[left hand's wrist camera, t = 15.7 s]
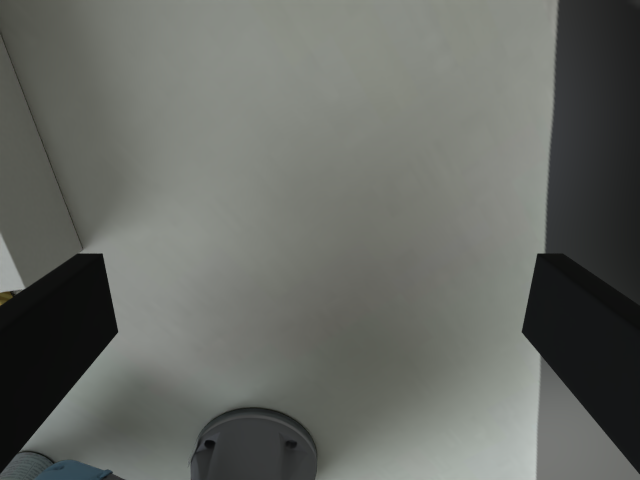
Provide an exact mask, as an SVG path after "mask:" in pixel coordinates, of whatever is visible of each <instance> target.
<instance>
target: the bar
mask: <svg viewBox="0 0 640 480" xmlns="http://www.w3.org/2000/svg"><path fill="white" fill-rule="evenodd" d="M82 250H83V249H82V246H81V244H80V241H79V238H78V236H77V233H76V230H75V228H74V225H73V223H72V220H71V217H70V215H69V212H68V210H67V207H66V204H65V202H64V199H63V196H62V194H61V191H60V189H59V186H58V183H57V181H56V178H55V176H54V173H53V170H52V168H51V165H50V162H49V160H48V157H47V155H46V152H45V149H44V147H43V144H42V141H41V139H40V136H39V134H38V131H37V128H36V126H35V123H34V121H33V118H32V115H31V113H30V110H29V107H28V105H27V102H26V100H25V97H24V94H23V92H22V89H21V87H20V84H19V81H18V79H17V76H16V73H15V71H14V68H13V66H12V63H11V60H10V58H9V55H8V53H7V50H6V47H5V45H4V42H3V39H2V37H1V34H0V292H7V291H14V290H21V289H26V288H27V287H29V286H30V285H32V284H33V283H35V282H36V281H37V280H39V279H40V278H42V277H43V276H45V275H46V274H48V273H49V272H51V271H52V270H54V269H55V268H57V267H58V266H60V265H61V264H63V263H64V262H66V261H67V260H68V259H70V258H71V257H73V256H74V255H76V254H78V253H79V252H81V251H82Z"/></svg>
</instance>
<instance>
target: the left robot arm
mask: <svg viewBox="0 0 640 480" xmlns="http://www.w3.org/2000/svg"><path fill="white" fill-rule="evenodd" d="M117 333H118V328H117V323H116V318H115V313H114V308H113V303H112V298H111V293H110V288H109V283H108V278H107V273H106V268H105V263H104V258H103V254H76V255H74V256H73V257H71V258H70V259H68V260H67V261H66V262H64V263H63V264H61V265H60V266H58V267H57V268H55V269H54V270H52V271H51V272H49V273H48V274H46V275H45V276H43V277H42V278H40V279H39V280H37V281H36V282H35V283H33V284H32V285H30V286H29V287H27V288H26V289H24V290H23V291H21V292H20V293H18V294H17V295H15V296H14V297H12V298H11V299H9V300H8V301H6V302H5V303H4V304H2V305H1V306H0V474H1V473H2V472H3V470H4V469H5V468H6V467H7V466H8V464H9V463H10V462H11V461H12V459H13V458H14V457H15V456H16V455H17V453H18V452H19V451H20V450H21V449H22V447H23V446H24V445H25V444H26V443H27V441H28V440H29V439H30V438H31V437H32V435H33V434H34V433H35V432H36V431H37V429H38V428H39V427H40V426H41V425H42V423H43V422H44V421H45V420H46V419H47V417H48V416H49V415H50V414H51V413H52V411H53V410H54V409H55V408H56V406H57V405H58V404H59V403H60V402H61V400H62V399H63V398H64V397H65V396H66V394H67V393H68V392H69V391H70V390H71V388H72V387H73V386H74V385H75V384H76V382H77V381H78V380H79V379H80V378H81V376H82V375H83V374H84V373H85V372H86V370H87V369H88V368H89V367H90V366H91V364H92V363H93V362H94V361H95V360H96V358H97V357H98V356H99V355H100V353H101V352H102V351H103V350H104V349H105V347H106V346H107V345H108V344H109V343H110V341H111V340H112V339H113V338H114V337H115V335H116V334H117ZM522 333H523V334H524V335H525V337H526V338H527V339H528V340H529V341H530V343H531V344H532V345H533V346H534V347H535V349H536V350H537V351H538V352H539V353H540V355H541V356H542V357H543V358H544V360H545V361H546V362H547V363H548V364H549V365H550V367H551V368H552V369H553V370H554V372H555V373H556V374H557V375H558V376H559V378H560V379H561V380H562V381H563V382H564V384H565V385H566V386H567V387H568V388H569V390H570V391H571V392H572V393H573V394H574V396H575V397H576V398H577V399H578V400H579V402H580V403H581V404H582V405H583V406H584V408H585V409H586V410H587V411H588V413H589V414H590V415H591V416H592V417H593V419H594V420H595V421H596V422H597V423H598V425H599V426H600V427H601V428H602V429H603V431H604V432H605V433H606V434H607V435H608V437H609V438H610V439H611V440H612V441H613V443H614V444H615V445H616V446H617V447H618V449H619V450H620V451H621V452H622V453H623V455H624V456H625V457H626V458H627V459H628V461H629V462H630V463H631V464H632V466H633V467H634V468H635V469H636V470H637V472H638V473H639V474H640V306H639V305H638V304H636V303H635V302H633V301H632V300H631V299H629V298H628V297H626V296H625V295H623V294H622V293H620V292H619V291H617V290H616V289H614V288H613V287H611V286H610V285H608V284H607V283H605V282H604V281H602V280H601V279H600V278H598V277H597V276H595V275H594V274H592V273H591V272H589V271H588V270H586V269H585V268H583V267H582V266H580V265H579V264H577V263H576V262H574V261H573V260H572V259H570V258H569V257H567V256H566V255H564V254H537V258H536V263H535V268H534V273H533V278H532V283H531V288H530V293H529V298H528V303H527V308H526V313H525V318H524V323H523V328H522ZM190 461H191V480H315V476H316V472H317V452H316V447H315V444H314V442H313V440H312V438H311V436H310V435H309V433H308V432H307V431H306V430H305V429H304V428H303V427H302V426H301V425H300V424H299V423H297V422H296V421H294V420H293V419H291V418H289V417H287V416H285V415H283V414H280V413H278V412H274V411H271V410H265V409H254V408H251V409H240V410H235V411H231V412H228V413H225V414H223V415H221V416H219V417H217V418H215V419H214V420H212V421H211V422H210V423H208V424H207V425H206V426H205V427H204V429H203V430H202V431H201V433H200V434H199V436H198V438H197V441H196V444H195V446H194V448H193V451H192V453H191V455H190V458H189V462H188V466H189V463H190ZM112 473H113V472H112V471H111V470H101V469H98V468H95V467H92V466H90V465H87V464H84V463H81V462H78V461H75V460H63V461H60V462H57V463H55V464H53V465H51V466H50V467H48V468H47V469H45V470H44V471H43V472H42V473H40V474H39V475H38V476H37V477H36V478H35V479H34V480H125V479H122V478H120V477H118V476H116V475H114V474H112Z"/></svg>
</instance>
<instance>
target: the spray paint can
mask: <svg viewBox="0 0 640 480" xmlns="http://www.w3.org/2000/svg"><path fill="white" fill-rule="evenodd" d="M51 465H53V463H52V462H51V461H50V460H49V459H47V458H46V457H44V456H42V455H39V454H36V453H31V452H23V453H19V454H17V455H16V456H15V457H14V458H13V459H12V461H11V462H10V463H9V464H8V466H7V467H6V468H5V469H4V470H3V472H2V473H1V474H0V480H34V479H35V478H36V477H37V476H38V475H39V474H40V473H42V472H43V471H44V470H45V469H47V468H48V467H50V466H51Z"/></svg>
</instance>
